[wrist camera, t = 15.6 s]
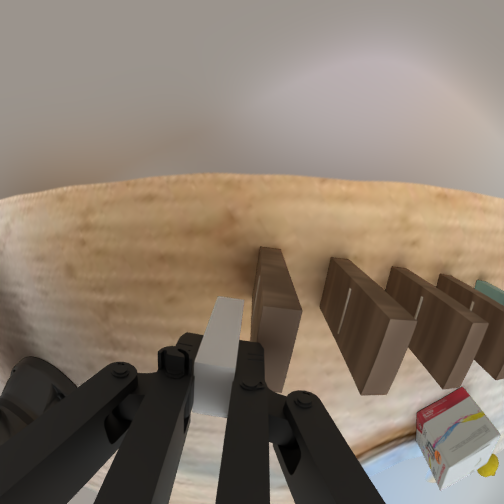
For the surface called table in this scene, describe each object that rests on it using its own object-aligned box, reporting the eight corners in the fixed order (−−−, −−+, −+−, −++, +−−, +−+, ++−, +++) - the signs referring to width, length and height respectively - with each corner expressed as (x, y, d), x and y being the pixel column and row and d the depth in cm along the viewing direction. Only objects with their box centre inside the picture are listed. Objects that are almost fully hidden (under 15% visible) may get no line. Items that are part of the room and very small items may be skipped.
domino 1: (251, 298, 27) (247, 389, 14) (259, 246, 26) (262, 305, 13) (271, 301, 27) (282, 392, 14) (281, 249, 26) (303, 311, 13)
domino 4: (426, 316, 27) (495, 380, 14) (439, 273, 26) (521, 323, 13) (438, 317, 27) (506, 377, 14) (451, 275, 26) (531, 323, 13)
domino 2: (319, 307, 27) (359, 395, 14) (330, 256, 26) (389, 319, 13) (337, 309, 27) (387, 394, 14) (349, 259, 26) (418, 320, 13)
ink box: (415, 411, 30) (449, 469, 19) (463, 384, 30) (503, 433, 18) (414, 442, 32) (440, 493, 21) (458, 418, 31) (489, 463, 20)
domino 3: (378, 313, 27) (442, 389, 14) (391, 266, 26) (472, 322, 13) (393, 314, 27) (460, 386, 14) (406, 268, 26) (489, 323, 13)
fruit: (487, 445, 35) (501, 466, 27) (492, 448, 35) (505, 468, 28) (469, 461, 36) (482, 483, 28) (475, 463, 36) (487, 484, 29)
